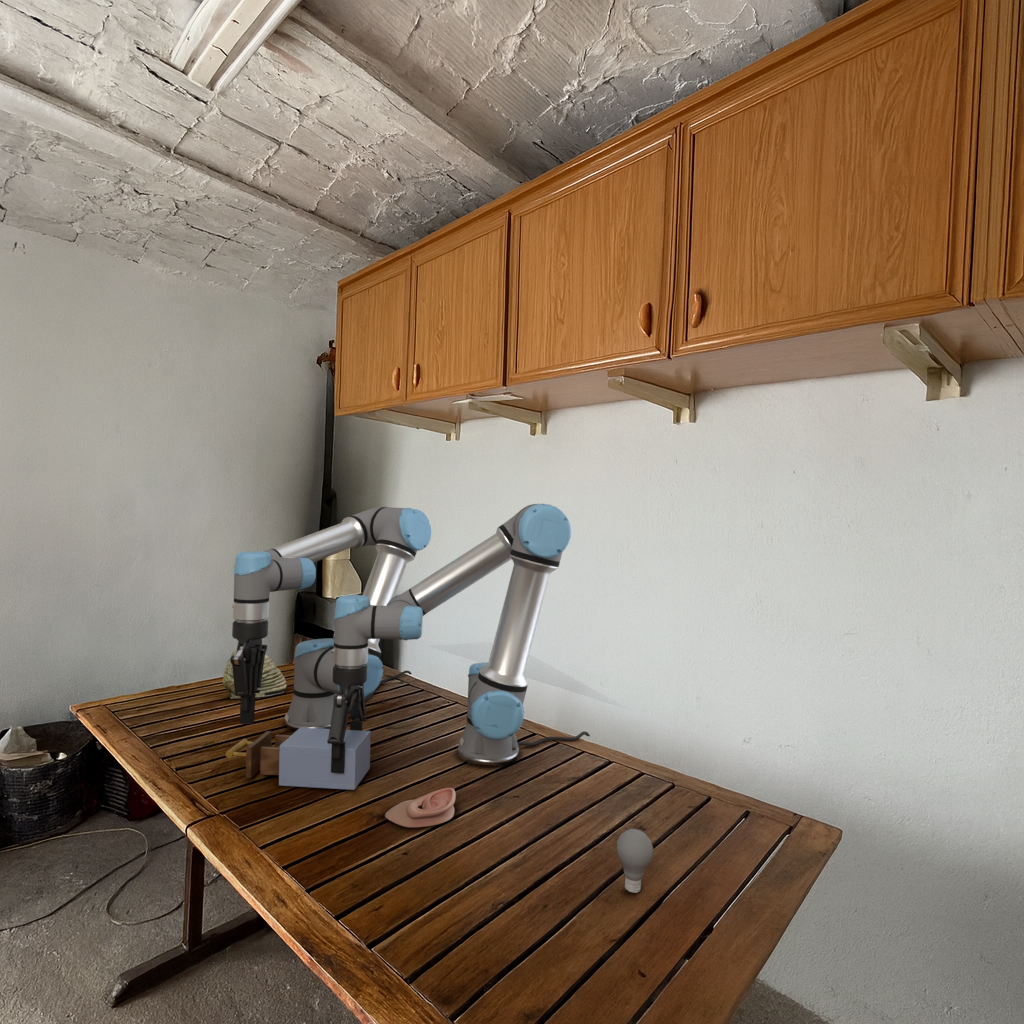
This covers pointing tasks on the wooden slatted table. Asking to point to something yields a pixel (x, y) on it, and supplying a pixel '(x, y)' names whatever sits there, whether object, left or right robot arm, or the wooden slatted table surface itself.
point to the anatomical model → (424, 809)
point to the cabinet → (323, 759)
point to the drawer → (260, 754)
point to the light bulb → (634, 857)
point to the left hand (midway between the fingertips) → (246, 722)
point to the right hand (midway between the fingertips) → (346, 760)
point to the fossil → (270, 680)
